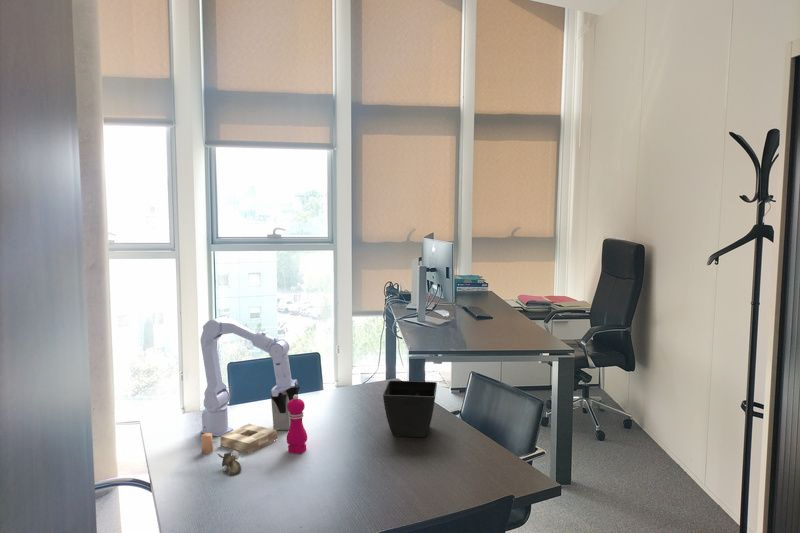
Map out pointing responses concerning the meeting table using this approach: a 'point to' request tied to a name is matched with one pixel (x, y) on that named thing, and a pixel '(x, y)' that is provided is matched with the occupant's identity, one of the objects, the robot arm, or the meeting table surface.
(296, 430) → the pepper mill
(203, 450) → the peg
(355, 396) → the meeting table surface
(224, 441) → the bore block
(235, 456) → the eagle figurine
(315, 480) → the meeting table surface
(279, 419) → the skincare box
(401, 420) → the flower pot
